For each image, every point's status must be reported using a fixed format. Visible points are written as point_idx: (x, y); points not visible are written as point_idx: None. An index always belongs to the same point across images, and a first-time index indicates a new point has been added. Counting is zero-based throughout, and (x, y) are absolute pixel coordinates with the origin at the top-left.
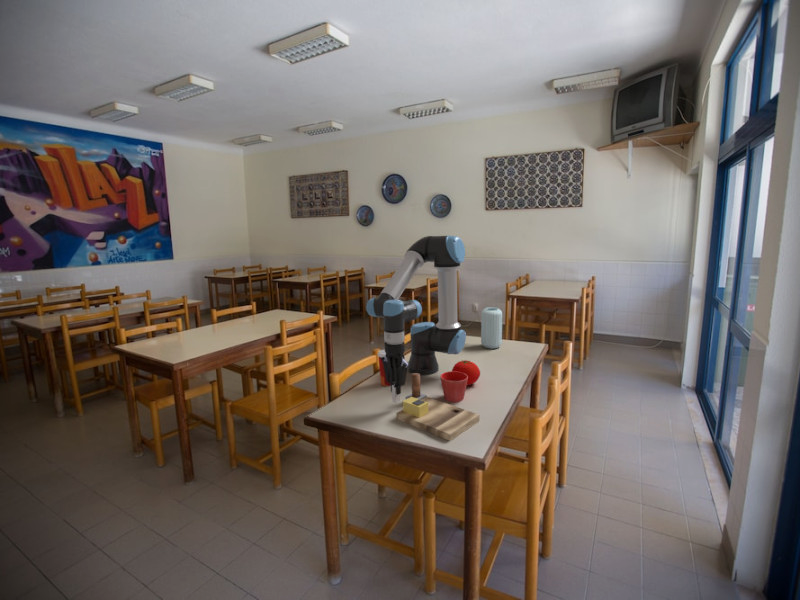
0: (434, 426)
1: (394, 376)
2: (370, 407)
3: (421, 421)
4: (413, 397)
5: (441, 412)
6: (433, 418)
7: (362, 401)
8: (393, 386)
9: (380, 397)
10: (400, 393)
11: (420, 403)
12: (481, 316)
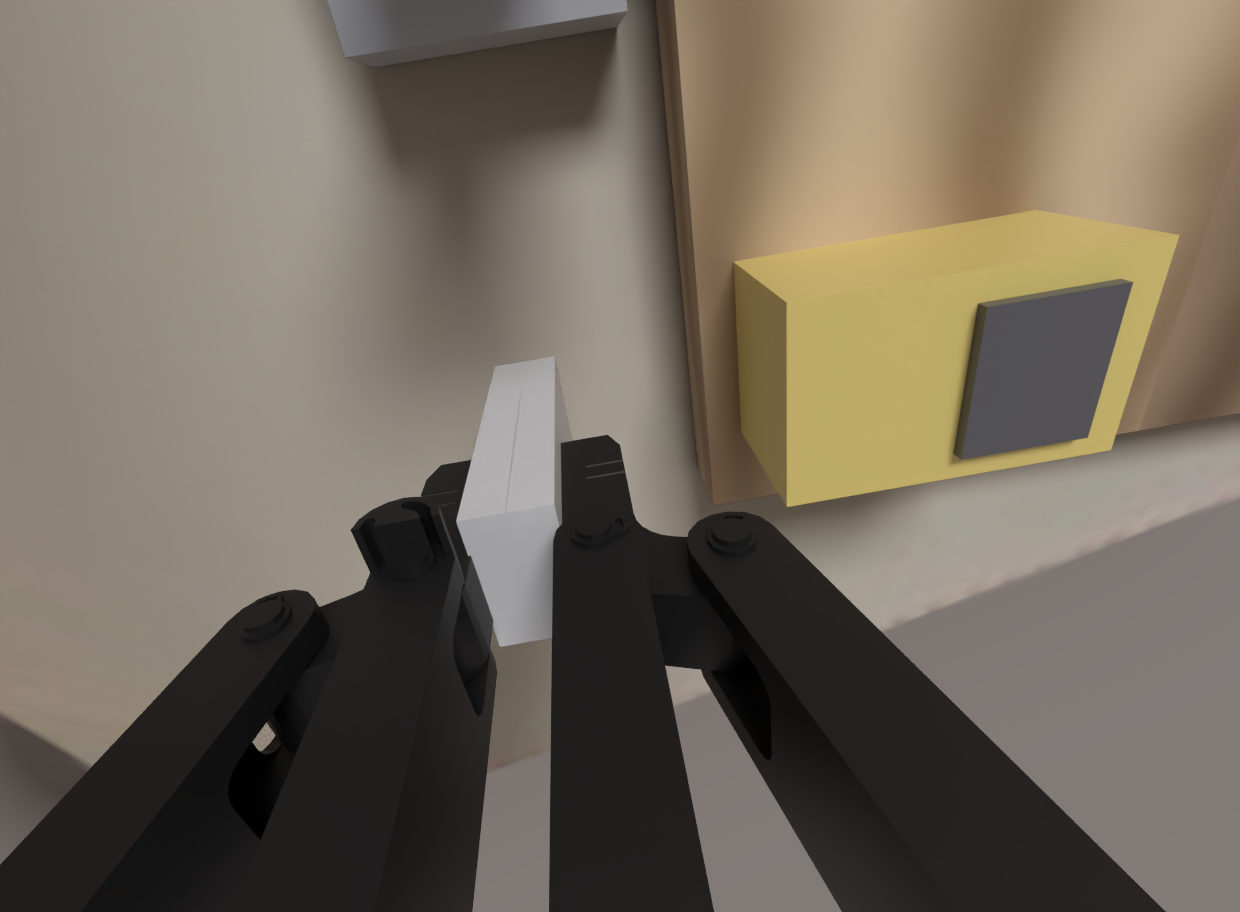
0: (1235, 389)
1: (448, 781)
2: (289, 525)
3: None
4: (835, 297)
5: (1214, 36)
6: None
7: (74, 518)
8: (548, 637)
9: (17, 281)
10: (610, 439)
11: (1092, 383)
12: None
